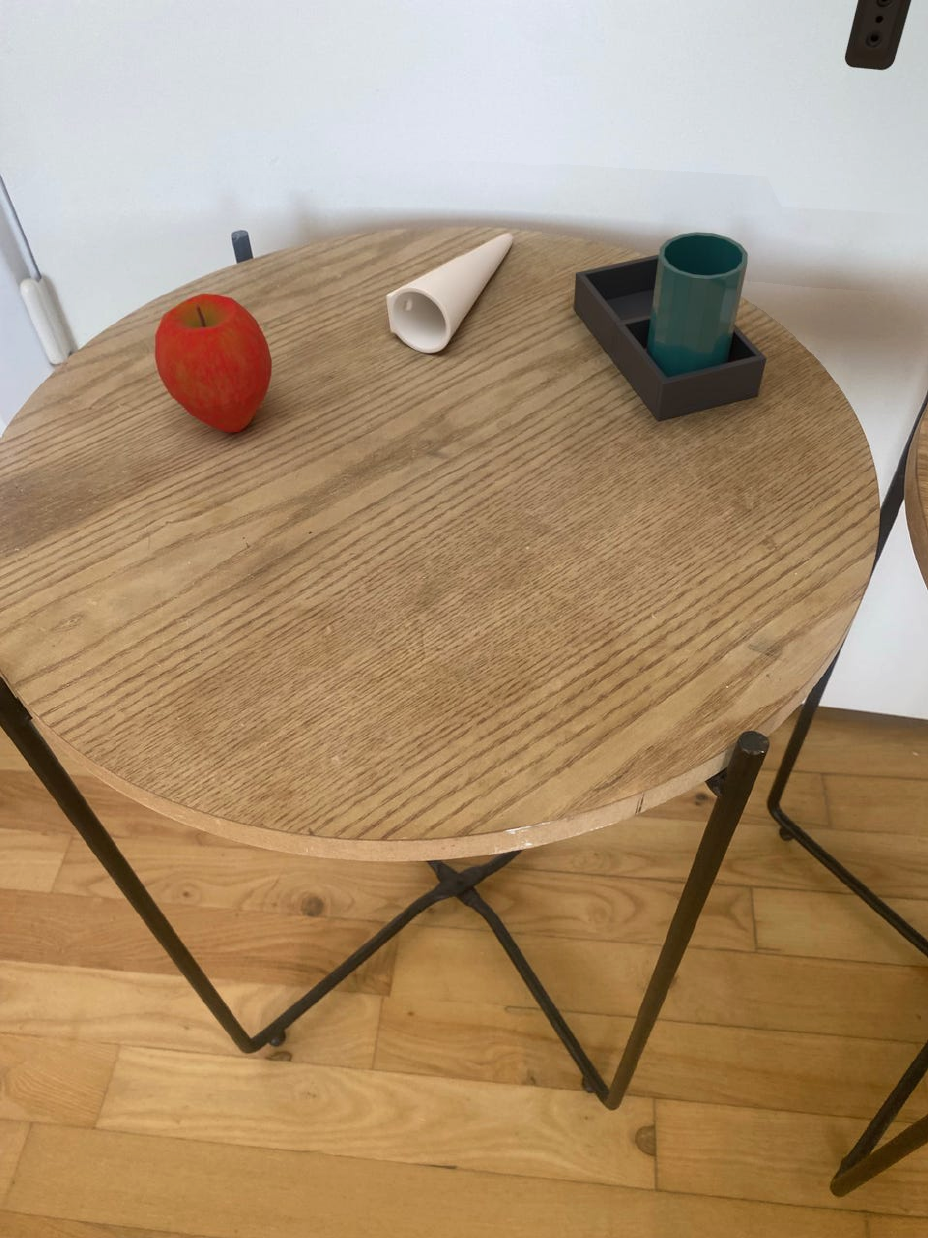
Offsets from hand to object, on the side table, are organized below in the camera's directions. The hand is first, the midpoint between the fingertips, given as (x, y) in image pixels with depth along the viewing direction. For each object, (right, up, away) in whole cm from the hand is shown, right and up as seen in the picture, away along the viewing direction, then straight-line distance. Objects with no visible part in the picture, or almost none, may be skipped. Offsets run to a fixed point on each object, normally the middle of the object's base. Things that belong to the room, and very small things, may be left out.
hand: (878, 33), depth 47 cm
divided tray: (-4, -6, +34) cm, 35 cm away
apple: (-39, -13, +30) cm, 51 cm away
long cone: (-19, +1, +40) cm, 45 cm away
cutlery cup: (-2, -8, +31) cm, 32 cm away
